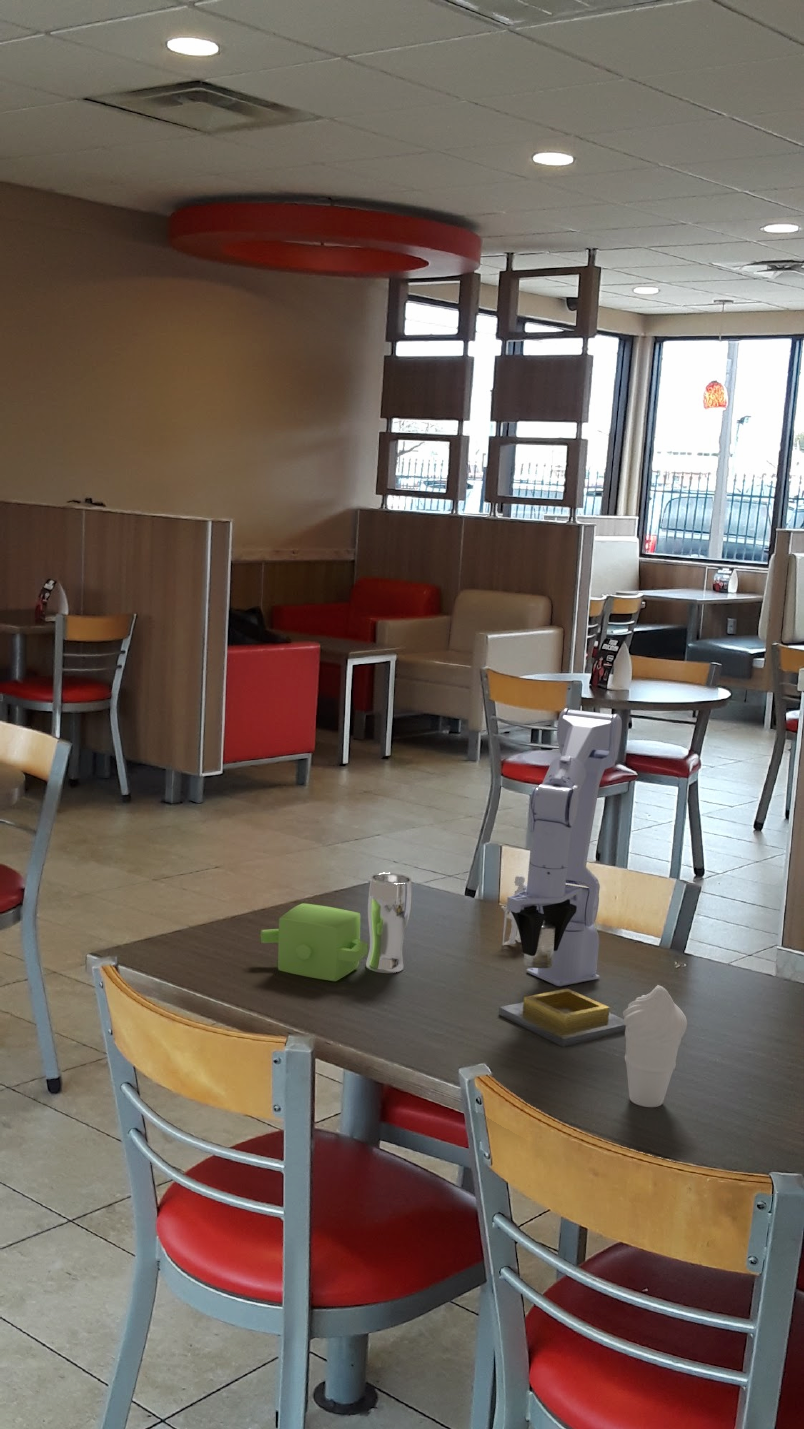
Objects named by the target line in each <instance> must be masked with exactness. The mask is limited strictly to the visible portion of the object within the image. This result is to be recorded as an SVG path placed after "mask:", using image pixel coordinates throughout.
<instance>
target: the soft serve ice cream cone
mask: <svg viewBox="0 0 804 1429" xmlns="http://www.w3.org/2000/svg"><path fill="white" fill-rule="evenodd" d="M622 1015H623V1017H624V1018H623V1019H624V1020H623V1023H624V1024H625V1025H626V1029H625V1032H624V1036H625V1054H624V1061H625V1064H626V1073H627V1084H628V1085H627V1086H628V1095H629V1096H628V1097H629V1100H630V1102H632V1104H635V1105H638V1106H640V1107H644V1108H657V1107H660V1106H661V1105H663V1104H664V1100H665V1097H666V1094H667V1091H668V1087H669V1084H670V1081H671V1078H672V1075H673V1072H674V1070H675V1068H677V1064H676V1061H677V1058H678V1057H677V1056H678V1052H679V1046H680V1045H681V1043H682V1038H683V1036H685V1035H684V1034H685V1033H686V1030H687V1027H688V1019H687V1017H686V1015H685V1013H684V1012H683V1011H682V1009H681V1008H680V1007H679V1006H678V1005H677V1003H675V1002H674V1000H673V998H672V996H671V995H670V994H669V991H668V990H667V989H666V988H665V987H664V986H662V985H659V984H657V985H656V986H655V987H654V988H653V989H652V990H651V991H650V992H649V993H647V994H642V995H641V996H637V997H636V998H635V1000H633V1001H631V1002H629V1004H628V1005H627V1008H626V1009H625V1010H623V1012H622Z"/></svg>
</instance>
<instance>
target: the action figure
mask: <svg viewBox="0 0 804 1429" xmlns="http://www.w3.org/2000/svg"><path fill="white" fill-rule="evenodd" d="M525 880H526V878H525V876H523V875H521V874H519V875H516V876H515V878H514V886H517V889H516V890H514V894H513V896H514V895H516V894H518V893H520V892H522V891H523V887H525V886H526V884H524V883H525ZM506 908H507V906H504V905H502V906H501V907H500V909H502V910H503V912H504V917H503V918H504V919H503V931H502V932H503V933H502V947H505V946H509V945H514V944H516V941H517V943H521V939H520V934H519V930H518V927H517V924H516V921H515V919H514V917H513V915H512V913H511V911H509V910H507V909H506ZM508 912H509V913H508ZM507 919H508V920H511V929H510V933H509V937H508V940H507V941H505V938H506V929H507Z"/></svg>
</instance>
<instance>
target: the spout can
mask: <svg viewBox="0 0 804 1429" xmlns="http://www.w3.org/2000/svg"><path fill="white" fill-rule="evenodd" d="M554 939H555V925H553V924H551V923H547V922H543V925H542V927H541V930H540V934H539V939H538V946H537V951H536V954H535V956H530V955H527V954H525V953H523V962H522V963H523V964H524V965H525V966H527V967H530V968H550V967H552V965H553V952H554Z"/></svg>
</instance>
